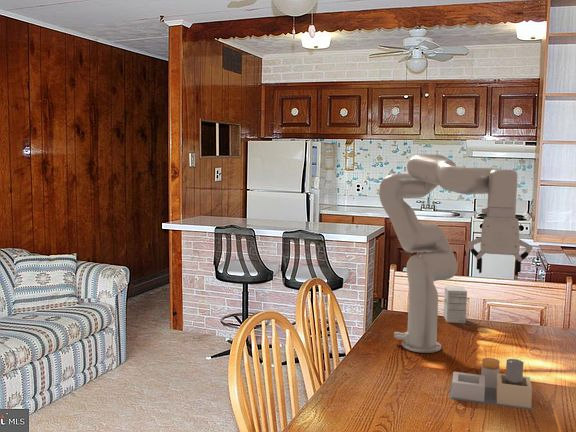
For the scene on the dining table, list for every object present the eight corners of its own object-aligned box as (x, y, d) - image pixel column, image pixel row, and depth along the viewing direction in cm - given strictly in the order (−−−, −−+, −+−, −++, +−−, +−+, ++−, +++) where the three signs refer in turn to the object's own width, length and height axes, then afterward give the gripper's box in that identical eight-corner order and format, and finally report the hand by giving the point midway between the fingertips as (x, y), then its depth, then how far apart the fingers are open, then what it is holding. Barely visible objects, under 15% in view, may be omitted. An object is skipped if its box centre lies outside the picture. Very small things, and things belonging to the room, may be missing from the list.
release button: (481, 384, 159) (482, 362, 159) (481, 378, 164) (482, 357, 163) (498, 386, 158) (499, 364, 157) (498, 380, 162) (499, 359, 162)
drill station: (448, 404, 151) (450, 379, 151) (451, 381, 166) (452, 359, 166) (533, 415, 145) (534, 390, 145) (528, 391, 160) (529, 368, 160)
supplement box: (443, 317, 234) (444, 285, 232) (462, 318, 233) (463, 286, 232) (446, 322, 226) (447, 290, 225) (466, 323, 226) (467, 290, 224)
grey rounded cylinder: (504, 401, 150) (507, 363, 149) (504, 395, 154) (506, 358, 153) (521, 403, 149) (524, 365, 148) (520, 397, 153) (522, 359, 151)
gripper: (468, 213, 165) (465, 273, 167) (535, 216, 160) (531, 278, 161) (469, 211, 172) (466, 269, 174) (533, 213, 167) (529, 273, 169)
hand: (498, 273), depth 168 cm, fingers open, 9 cm apart
